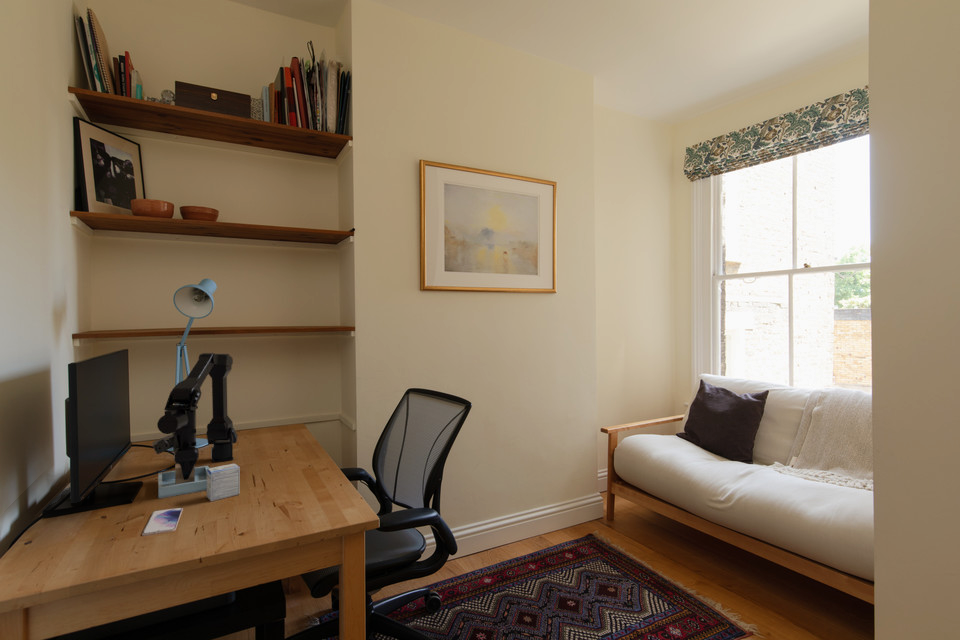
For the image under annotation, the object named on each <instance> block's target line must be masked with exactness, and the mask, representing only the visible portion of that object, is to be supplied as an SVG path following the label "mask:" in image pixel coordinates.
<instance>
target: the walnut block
mask: <svg viewBox="0 0 960 640" xmlns="http://www.w3.org/2000/svg"><path fill="white" fill-rule="evenodd" d="M195 465H196V464H195ZM195 465H194V467H193V469H192V472H191V474H190V476H189V478H188V479H187V480H184V478H183V474H182V469H181V465H180V464H178V463H175V465H174V467H175V468H174V469H175V470H174V471H175V485H176V484H182V483H189V482H195V468H196V466H195Z"/></svg>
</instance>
